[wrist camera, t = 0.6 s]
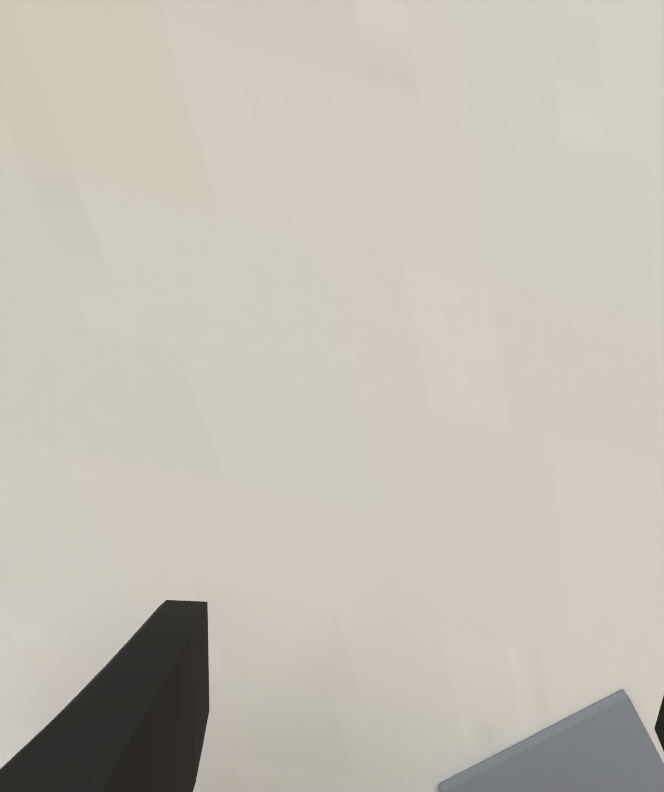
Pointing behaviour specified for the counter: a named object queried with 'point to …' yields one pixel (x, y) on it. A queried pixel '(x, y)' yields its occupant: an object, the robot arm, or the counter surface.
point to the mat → (574, 757)
